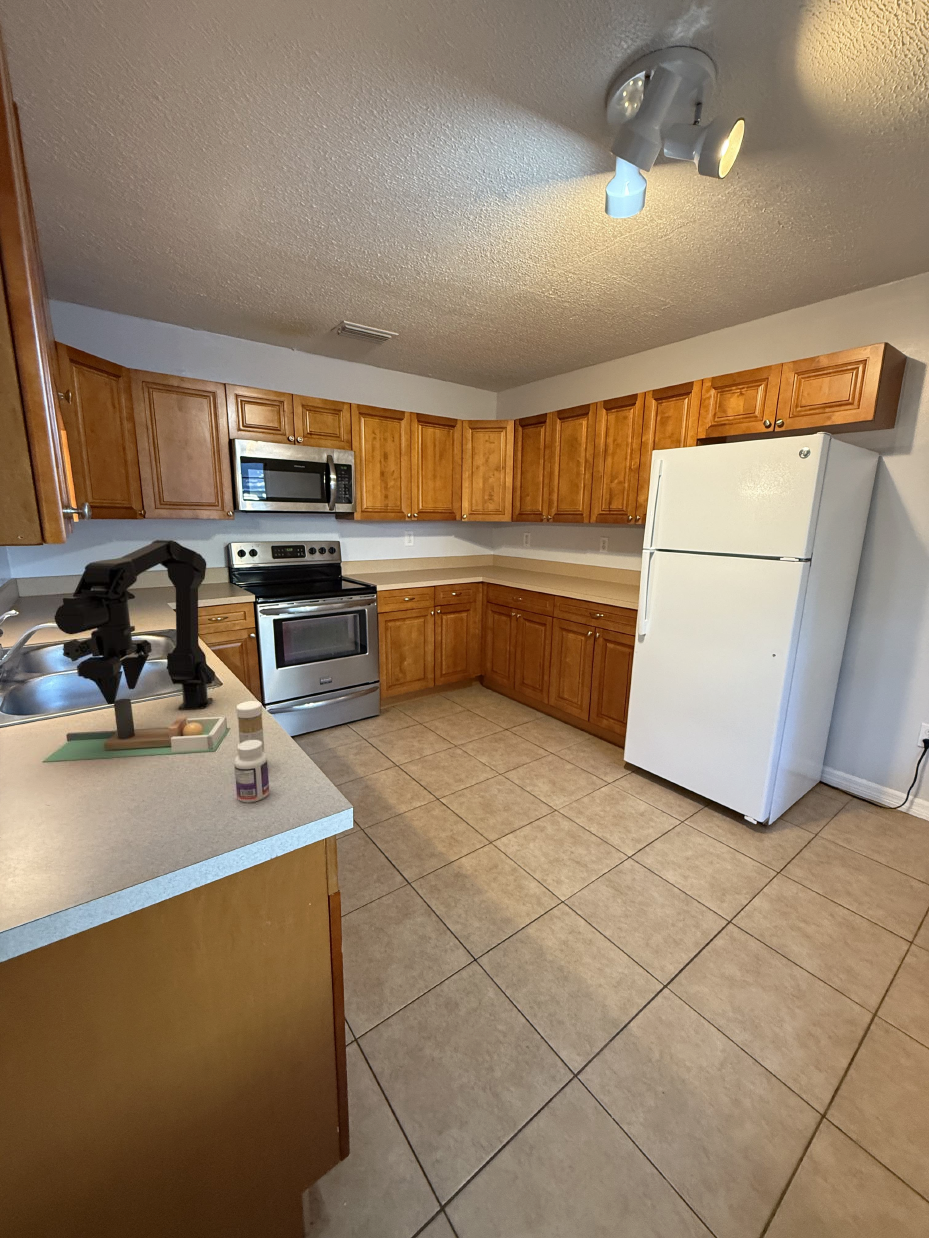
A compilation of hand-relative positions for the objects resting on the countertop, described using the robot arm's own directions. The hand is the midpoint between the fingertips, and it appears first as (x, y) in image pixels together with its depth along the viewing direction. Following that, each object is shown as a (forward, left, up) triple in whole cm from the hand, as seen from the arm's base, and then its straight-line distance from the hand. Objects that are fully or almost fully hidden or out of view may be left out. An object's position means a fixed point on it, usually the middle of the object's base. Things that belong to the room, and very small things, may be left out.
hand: (121, 696), depth 105 cm
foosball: (0, +13, -9) cm, 16 cm away
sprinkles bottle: (+15, +29, -11) cm, 34 cm away
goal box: (0, +15, -11) cm, 18 cm away
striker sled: (0, +4, -11) cm, 12 cm away
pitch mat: (0, +3, -11) cm, 12 cm away
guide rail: (-4, -2, -11) cm, 12 cm away
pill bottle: (+25, +31, -11) cm, 41 cm away
